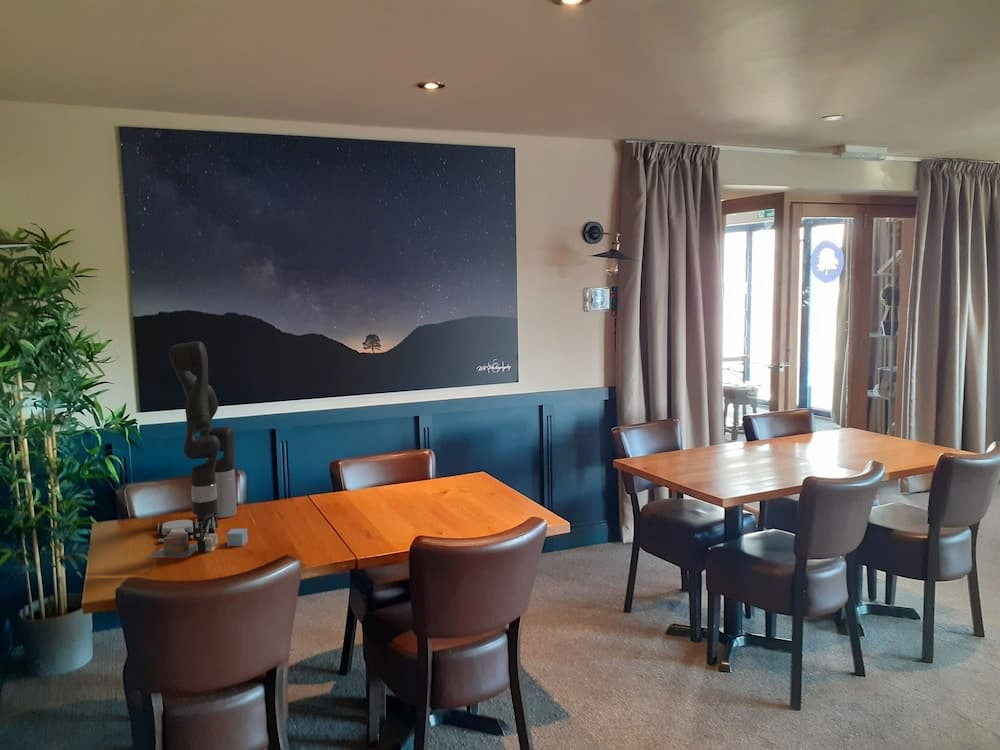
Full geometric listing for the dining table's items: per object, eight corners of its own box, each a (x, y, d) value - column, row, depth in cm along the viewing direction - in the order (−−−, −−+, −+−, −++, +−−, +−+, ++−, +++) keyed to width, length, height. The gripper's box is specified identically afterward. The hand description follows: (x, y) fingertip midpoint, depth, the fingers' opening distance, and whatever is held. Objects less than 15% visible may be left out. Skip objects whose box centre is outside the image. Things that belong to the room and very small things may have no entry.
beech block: (202, 548, 242) (201, 533, 241) (218, 548, 242) (217, 533, 241) (196, 554, 237) (195, 538, 237) (212, 554, 237) (211, 538, 237)
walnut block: (171, 547, 240) (170, 532, 240) (188, 547, 240) (187, 532, 240) (164, 553, 235) (163, 538, 234) (181, 553, 235) (180, 538, 234)
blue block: (232, 543, 247) (232, 528, 246) (247, 543, 247) (247, 528, 246) (227, 548, 242) (226, 533, 241) (242, 548, 242) (242, 533, 242)
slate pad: (166, 546, 244) (166, 544, 243) (202, 546, 244) (202, 544, 243) (149, 560, 232) (148, 557, 231) (187, 559, 232) (187, 557, 232)
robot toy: (197, 545, 248) (197, 528, 262) (196, 532, 247) (196, 516, 261) (157, 550, 244) (158, 533, 257) (156, 537, 243) (158, 520, 256)
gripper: (201, 492, 245) (203, 540, 246) (183, 504, 230) (185, 555, 232) (224, 491, 245) (226, 540, 246) (207, 504, 230) (209, 555, 232)
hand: (206, 547), depth 239 cm, fingers open, 7 cm apart
